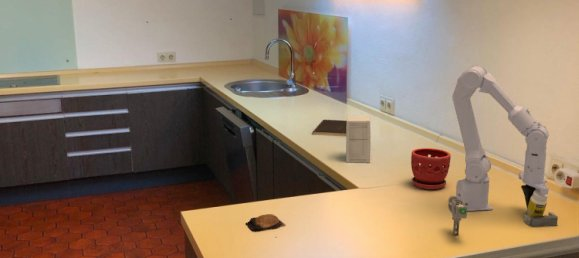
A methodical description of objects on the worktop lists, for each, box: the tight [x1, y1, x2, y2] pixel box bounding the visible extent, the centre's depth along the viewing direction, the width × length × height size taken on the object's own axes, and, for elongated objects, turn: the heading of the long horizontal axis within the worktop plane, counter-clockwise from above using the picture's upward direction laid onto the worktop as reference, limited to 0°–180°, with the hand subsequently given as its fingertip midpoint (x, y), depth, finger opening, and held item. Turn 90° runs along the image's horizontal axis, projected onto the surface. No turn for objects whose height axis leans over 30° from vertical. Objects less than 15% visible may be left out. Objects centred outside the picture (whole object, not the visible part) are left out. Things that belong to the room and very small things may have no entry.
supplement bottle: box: [525, 190, 549, 216], centre depth 185 cm, size 5×5×8 cm
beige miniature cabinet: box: [345, 115, 372, 164], centre depth 244 cm, size 10×9×17 cm
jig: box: [523, 211, 559, 228], centre depth 183 cm, size 9×4×2 cm, turn 96°
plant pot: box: [410, 147, 451, 190], centre depth 214 cm, size 13×13×12 cm
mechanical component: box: [447, 195, 468, 236], centre depth 175 cm, size 3×10×10 cm, turn 2°
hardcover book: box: [311, 119, 347, 137], centre depth 292 cm, size 16×23×2 cm
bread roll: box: [245, 213, 286, 233], centre depth 183 cm, size 11×8×4 cm
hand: (530, 208), depth 189 cm, fingers closed
